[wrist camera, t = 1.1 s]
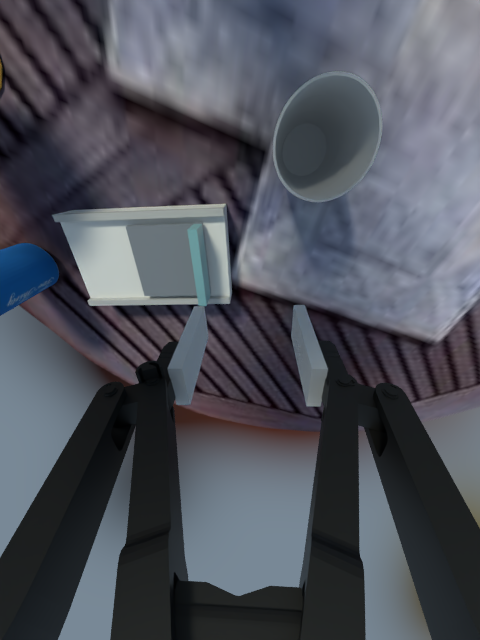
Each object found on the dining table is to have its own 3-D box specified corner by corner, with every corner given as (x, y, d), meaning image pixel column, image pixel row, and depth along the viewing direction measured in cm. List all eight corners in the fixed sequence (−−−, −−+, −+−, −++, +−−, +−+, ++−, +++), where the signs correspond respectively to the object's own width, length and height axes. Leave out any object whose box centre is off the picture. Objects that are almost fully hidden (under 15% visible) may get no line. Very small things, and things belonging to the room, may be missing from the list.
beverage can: (58, 291, 38) (-13, 336, 28) (14, 270, 37) (-78, 310, 27) (66, 257, 35) (-10, 293, 25) (18, 232, 34) (-84, 260, 24)
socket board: (72, 209, 32) (51, 214, 29) (226, 203, 31) (223, 208, 27) (103, 293, 38) (89, 305, 35) (232, 291, 37) (229, 303, 34)
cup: (357, 144, 27) (404, 134, 18) (302, 207, 30) (320, 222, 22) (305, 81, 24) (332, 35, 16) (252, 157, 28) (251, 153, 19)
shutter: (128, 225, 29) (112, 232, 26) (203, 222, 29) (196, 229, 25) (146, 293, 34) (135, 306, 31) (211, 292, 33) (206, 305, 30)
